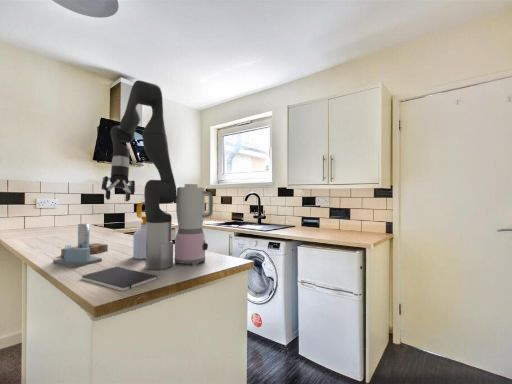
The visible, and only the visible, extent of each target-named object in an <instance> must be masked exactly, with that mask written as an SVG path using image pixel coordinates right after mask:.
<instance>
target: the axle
mask: <svg viewBox="0 0 512 384" xmlns="http://www.w3.org/2000/svg"><path fill="white" fill-rule="evenodd" d="M90 227H91V226H90V223H78V224H77V246H78V248H89V244H90Z"/></svg>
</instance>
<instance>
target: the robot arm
mask: <svg viewBox="0 0 512 384" xmlns="http://www.w3.org/2000/svg"><path fill="white" fill-rule="evenodd" d="M161 88H162V87H161V86H159V85H158V84H156V83H153V82H147V81H143V80H139V79H138V80H136V81H134V83H133V84H132V87H131V90H130V93H129V96H128V100H127V103H126V109H125V112H124V114H123V115H122V118H121V119H120V122H119V125H114V126H112V127H111V129H110V137H111V141H112V147H113V152H112V160H111V170H110V177H109V176H108V175H105V176H104V177H102V183H101V190H103V191H105V199H106V200H111V190H112V189H113V188H119V189H122V190H123V191H125V202H130V200H131V194H134V193H135V192H136V190H135V189H136V187H135V186H136V185H135V184H136V181H135V180H130V179H129V173H130V153H131V151H130V148H129V146H127V145H124V144H122V143H126V144H130V143H132V142H134V139H135V132H136V129H137V128H138V126H139V125H140V122H141V115H140V112H139V109H138V108H137V106H138V105H141V106H147V107H151V111H152V112H151V114H152V115H151V117H150V120H148V122H147V124H146V125H145V127H144V129H143V131H142V135H141V137H142V145H143V150H144V152H145V154H146V155H147V157H148V159H149V160H150V161H151V163H152V164H153V165H154V166H155V168H156V170H157V171H158V174H159V178H160V179H149V180H147V181H146V183H145V185H144V189H143V190H144V195H143V197H144V202H145V204H144V213H145V215H144V216H146V259H145V268H146V269H148V270H161V271H162V270H164V269H167V268H170V267H171V268H172V267H173V266H174V241H173V240H172V214H171V213H170V212H169V213H168V212H166V211H164V210H162V209H161V208H160V205H165V204H166V205H167V204H173V203H174V202H175V200H176V198H177V186H176V181H175V176H174V173H173V169H172V165H171V159H170V153H169V143H168V136H167V132H166V125H165V115H164V102H163V100H164V99H163V91H162V89H161ZM108 182H110V184H109V185H108ZM107 185H108V186H107ZM128 185H129V186H128Z"/></svg>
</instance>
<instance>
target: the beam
mask: <svg viewBox="0 0 512 384" xmlns="http://www.w3.org/2000/svg"><path fill="white" fill-rule="evenodd" d="M108 247H109V246H108V244H105V243H99V242H95V243H89V248H90V255H94V254H98V253H103V252H108V251H109V250H108ZM71 248H78V245H77V246H71ZM60 256H61V257H64V248H61V251H60Z"/></svg>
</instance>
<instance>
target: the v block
mask: <svg viewBox="0 0 512 384" xmlns="http://www.w3.org/2000/svg"><path fill="white" fill-rule="evenodd" d="M71 247H72V244H68V245H66V244H65V246H64V248H63V249H64V256H63V258H58V259H53V260H52V263H53V264H56V265H62V266H65V267H69V268H78V267H83V266H86V265H90V264H91V265H92V264H95V263H99V262H102V261H103V258H101V257H96V256H92V255H91V254H90V248H71Z"/></svg>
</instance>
